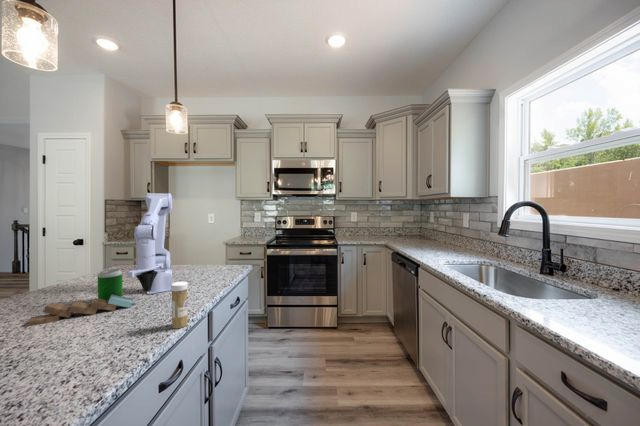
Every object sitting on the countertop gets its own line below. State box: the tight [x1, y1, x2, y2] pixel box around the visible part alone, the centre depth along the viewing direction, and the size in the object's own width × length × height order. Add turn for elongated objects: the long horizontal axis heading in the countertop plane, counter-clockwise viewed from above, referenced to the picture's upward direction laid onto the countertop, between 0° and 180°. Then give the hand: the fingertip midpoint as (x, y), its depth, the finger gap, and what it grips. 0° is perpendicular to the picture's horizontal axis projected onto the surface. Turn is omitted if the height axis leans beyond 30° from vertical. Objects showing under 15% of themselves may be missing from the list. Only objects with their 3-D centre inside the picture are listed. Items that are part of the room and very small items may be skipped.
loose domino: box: [108, 295, 134, 309], centre depth 96 cm, size 2×4×7 cm
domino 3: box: [69, 301, 98, 315], centre depth 90 cm, size 2×4×7 cm
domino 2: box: [42, 302, 75, 319], centre depth 87 cm, size 2×4×7 cm
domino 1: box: [26, 313, 63, 327], centre depth 84 cm, size 2×4×7 cm
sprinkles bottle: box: [171, 281, 189, 329], centre depth 81 cm, size 5×5×14 cm
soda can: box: [97, 268, 124, 300], centre depth 102 cm, size 8×8×12 cm
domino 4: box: [90, 297, 118, 312], centre depth 93 cm, size 2×4×7 cm
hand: (147, 290), depth 100 cm, fingers closed
